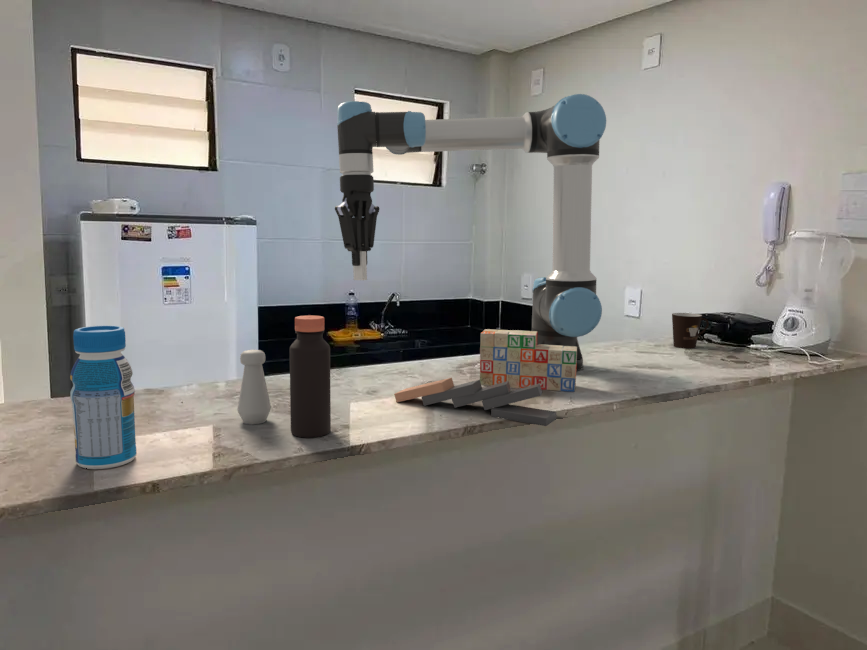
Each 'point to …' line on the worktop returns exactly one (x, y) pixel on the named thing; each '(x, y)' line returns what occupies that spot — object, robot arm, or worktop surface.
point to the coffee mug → (686, 329)
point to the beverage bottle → (102, 399)
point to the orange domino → (424, 390)
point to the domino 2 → (483, 394)
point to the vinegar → (310, 379)
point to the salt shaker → (253, 389)
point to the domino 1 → (453, 392)
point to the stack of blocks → (526, 361)
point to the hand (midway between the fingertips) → (360, 279)
